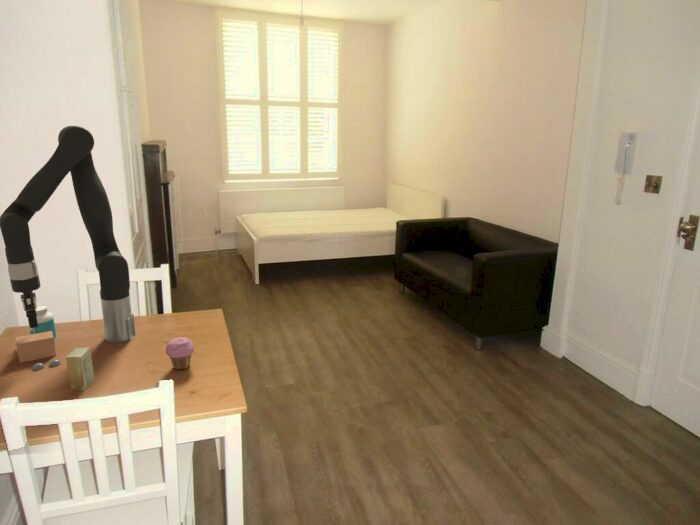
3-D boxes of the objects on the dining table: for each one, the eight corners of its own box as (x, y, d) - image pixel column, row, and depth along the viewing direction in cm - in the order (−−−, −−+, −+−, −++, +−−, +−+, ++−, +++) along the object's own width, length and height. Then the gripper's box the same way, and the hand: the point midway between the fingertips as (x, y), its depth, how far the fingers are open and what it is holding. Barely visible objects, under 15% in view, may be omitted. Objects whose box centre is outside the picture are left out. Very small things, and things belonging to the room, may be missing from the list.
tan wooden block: (55, 352, 161) (52, 330, 159) (56, 359, 157) (53, 337, 154) (20, 359, 156) (16, 337, 154) (20, 367, 151) (16, 344, 149)
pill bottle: (62, 340, 170) (56, 305, 167) (47, 349, 163) (41, 313, 160) (42, 338, 171) (37, 303, 167) (27, 347, 164) (21, 311, 160)
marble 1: (46, 369, 150) (45, 360, 149) (42, 374, 147) (41, 365, 147) (36, 369, 150) (35, 361, 149) (31, 374, 147) (30, 365, 146)
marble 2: (62, 366, 153) (61, 357, 152) (58, 370, 150) (57, 362, 149) (52, 366, 152) (51, 358, 151) (48, 371, 149) (47, 362, 148)
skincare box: (80, 383, 143) (75, 346, 139) (95, 383, 143) (90, 346, 140) (70, 395, 137) (64, 356, 133) (86, 394, 137) (80, 356, 134)
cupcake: (193, 372, 151) (191, 344, 148) (164, 374, 150) (162, 345, 147) (197, 359, 159) (195, 332, 157) (170, 360, 158) (168, 333, 155)
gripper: (9, 271, 152) (19, 317, 156) (9, 283, 141) (20, 333, 145) (37, 267, 156) (46, 312, 161) (39, 279, 145) (48, 327, 149)
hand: (33, 322), depth 153 cm, fingers open, 8 cm apart
